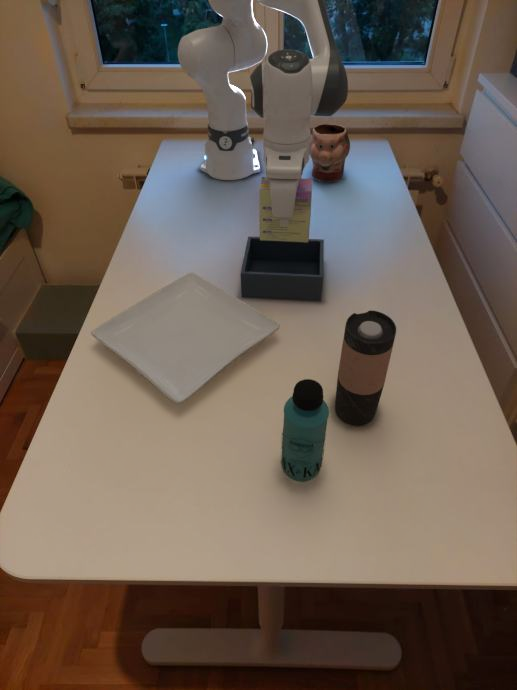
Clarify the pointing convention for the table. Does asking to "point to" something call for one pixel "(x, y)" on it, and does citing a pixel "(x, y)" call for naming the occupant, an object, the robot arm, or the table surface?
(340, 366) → the travel mug
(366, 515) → the table surface
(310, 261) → the bin
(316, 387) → the beverage bottle
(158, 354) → the square plate
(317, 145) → the decorative planter
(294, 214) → the box
